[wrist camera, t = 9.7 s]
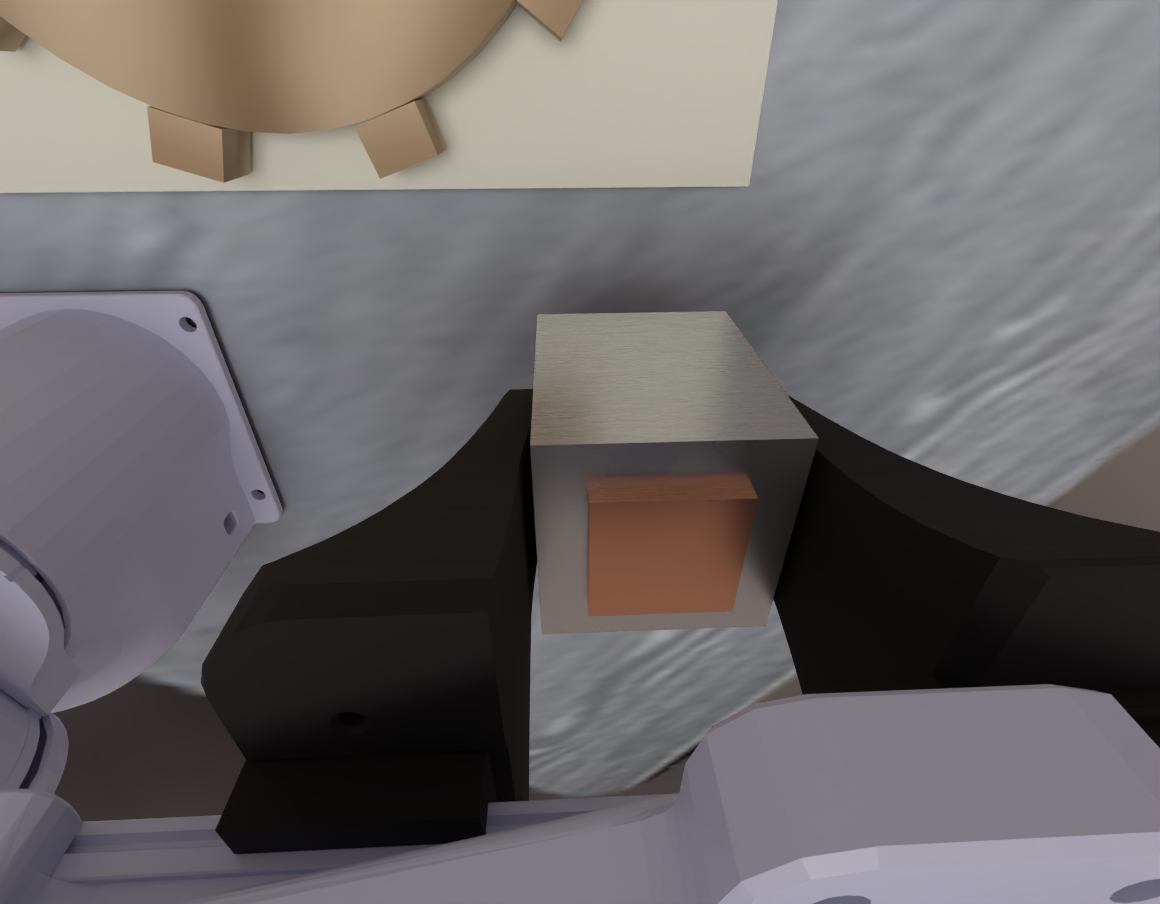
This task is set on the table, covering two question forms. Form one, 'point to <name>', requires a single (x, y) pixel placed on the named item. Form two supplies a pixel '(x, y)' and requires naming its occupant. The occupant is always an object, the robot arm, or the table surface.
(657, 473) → the copper-capped metal cube
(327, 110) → the sprocket disc
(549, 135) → the index plate
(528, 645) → the robot arm
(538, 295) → the table surface
